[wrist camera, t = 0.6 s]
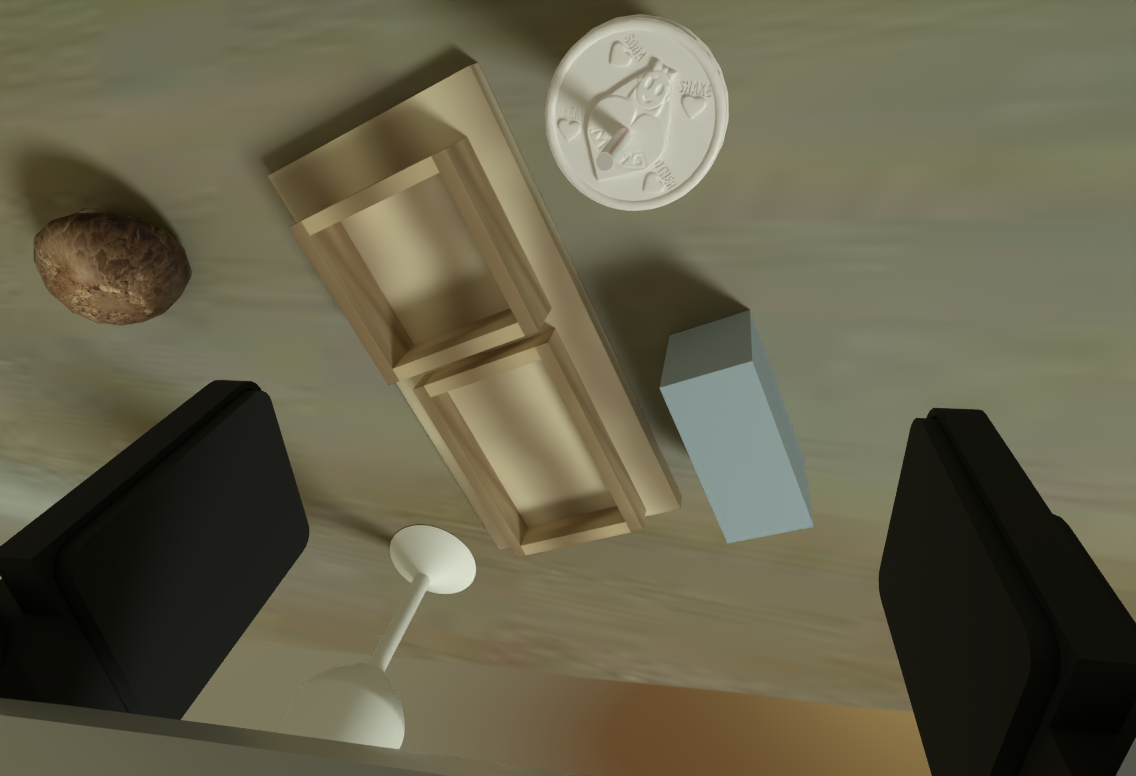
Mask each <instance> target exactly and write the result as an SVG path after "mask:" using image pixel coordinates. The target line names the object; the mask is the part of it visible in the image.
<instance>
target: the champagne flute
mask: <svg viewBox="0 0 1136 776" xmlns="http://www.w3.org/2000/svg"><path fill="white" fill-rule="evenodd" d="M390 556H391V560H392V562H393V564H394V566H395V567H396V569H397V570H398V571H399V573H400V574H401V575H402V576H403V577H404V578H405V579H407V580H408V581H409V582H411V584H410V586H409V588H408V590H407V592H406V593H405V595H404V597H403V599H402V601H401V603H400V604H399V606H398V608H397V610H396V612H395V614H394V615H393V617H392V619H391V621H390V623H389V625H388V626H387V628H386V630H385V632H384V634H383V636H382V637H381V639H380V641H379V643H378V645H377V647H376V649H375V650H374V652H373V654H372V656H371V658H370V660H369V661H368V663H358V664H353V665H347V666H340V667H335V668H332V669H330V670H327V671H325V672H322V673H320V674H318V675H316V676H314V677H313V678H312V679H310V680H308V681H307V682H305V683H304V684H303V685H302V686H301V687H300V688H299V689H298V691H297V692H296V694H295V695H294V697H293V699H292V701H291V703H290V705H289V708H288V709H287V711H286V714H285V715H284V717H283V719H282V721H281V723H280V725H279V727H278V729H277V731H276V733H283V734H290V735H298V736H305V737H312V738H320V739H327V740H335V741H342V742H349V743H357V744H364V745H372V746H379V747H386V748H394V749H399V748H400V746H401V744H402V741H403V738H404V732H405V728H404V727H405V725H404V714H403V710H402V705H401V702H400V698H399V697H398V695H397V693H396V691H395V689H394V687H393V685H392V683H391V681H390V679H389V677H388V675H387V674H386V673H385V672H384V671H385V670H386V668H387V666H388V664H389V662H390V660H391V658H392V656H393V654H394V652H395V650H396V648H397V646H398V644H399V642H400V640H401V638H402V636H403V635H404V633H405V631H406V629H407V627H408V625H409V623H410V621H411V619H412V617H413V615H414V613H415V611H416V609H417V607H418V605H419V603H420V601H421V599H422V597H423V596H424V594H425V592H426V591H430V592H433V593H440V594H452V593H456V592H460V591H462V590H464V589H466V588H467V587H468V586H469V585H470V584H471V583H472V582H473V580H474V577H475V575H476V565H475V561H474V558H473V556H472V554H471V552H470V551H469V549H468V548H467V547H466V546H465V545H464V544H463V543H462V542H461V541H460V540H459V539H458V538H456V537H455V536H453V535H452V534H450V533H448V532H447V531H444V530H442V529H439V528H436V527H432V526H425V525H415V526H410V527H406V528H404V529H402V530H400V531H399V532H397V533H396V534H395V535H394V537H393V539H392V540H391V544H390Z"/></svg>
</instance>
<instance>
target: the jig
mask: <svg viewBox="0 0 1136 776" xmlns="http://www.w3.org/2000/svg"><path fill="white" fill-rule="evenodd" d="M268 178H269V179H270V181H271V183H272V184H273V186H274V187H275V189H276V191H277V192H278V194H279V195H280V197H281V199H282V200H283V202H284V203H285V205H286V207H287V208H288V210H289V211H290V213H291V215H292V216H293V218H294V220H295V221H296V224H294V225H292V226H290V227H289V228H290V229H291V231H292V232H293V234H294V236H295V237H296V239H297V240H298V242H299V244H300V245H301V247H302V248H303V250H304V252H305V253H306V255H307V256H308V258H309V259H310V261H311V263H312V264H313V266H314V267H315V269H316V271H317V272H318V274H319V275H320V277H321V279H322V280H323V282H324V283H325V285H326V287H327V288H328V290H329V291H330V293H331V295H332V296H333V298H334V299H335V301H336V302H337V304H338V306H339V307H340V309H341V310H342V312H343V314H344V315H345V317H346V318H347V320H348V322H349V323H350V325H351V326H352V328H353V330H354V331H355V333H356V334H357V336H358V338H359V339H360V341H361V342H362V344H363V346H364V347H365V349H366V350H367V352H368V353H369V355H370V357H371V358H372V360H373V361H374V363H375V365H376V366H377V368H378V369H379V371H380V373H381V374H382V376H383V377H384V379H385V381H386V382H387V384H388V385H390V384H393V383H396V384H397V385H398V387H399V388H400V390H401V392H402V393H403V395H404V396H405V398H406V400H407V401H408V403H409V405H410V406H411V408H412V409H413V411H414V413H415V414H416V416H417V417H418V419H419V421H420V422H421V424H422V425H423V427H424V429H425V430H426V432H427V433H428V435H429V437H430V438H431V440H432V442H433V443H434V445H435V446H436V448H437V450H438V451H439V453H440V454H441V456H442V458H443V459H444V461H445V462H446V464H447V466H448V467H449V469H450V470H451V472H452V474H453V475H454V477H455V479H456V480H457V482H458V483H459V485H460V487H461V488H462V490H463V491H464V493H465V495H466V496H467V498H468V499H469V501H470V503H471V504H472V506H473V507H474V509H475V511H476V512H477V514H478V516H479V517H480V519H481V520H482V522H483V524H484V525H485V527H486V528H487V530H488V532H489V533H490V535H491V536H492V538H493V540H494V541H495V543H496V544H497V546H498V548H499V549H505V548H510V550H511V551H512V553H513V554H514V556H515V558H516V557H520V556H525V555H529V554H534V553H538V552H543V551H547V550H552V549H556V548H561V547H566V546H570V545H575V544H579V543H584V542H588V541H593V540H597V539H602V538H606V537H611V536H615V535H620V534H624V533H629V532H633V531H638V530H642V529H643V527H644V521H645V516H649V515H654V514H658V513H663V512H667V511H671V510H676V509H680V507H681V498H682V496H681V494H680V492H679V489H678V487H677V485H676V483H675V481H674V479H673V477H672V475H671V472H670V470H669V468H668V466H667V464H666V462H665V460H664V458H663V455H662V453H661V451H660V449H659V447H658V445H657V443H656V441H655V438H654V436H653V434H652V432H651V430H650V428H649V426H648V423H647V421H646V419H645V417H644V415H643V413H642V411H641V409H640V406H639V404H638V402H637V400H636V398H635V396H634V394H633V392H632V389H631V387H630V385H629V383H628V381H627V379H626V377H625V375H624V372H623V370H622V368H621V366H620V364H619V362H618V360H617V358H616V355H615V353H614V351H613V349H612V347H611V345H610V343H609V341H608V338H607V336H606V334H605V332H604V330H603V328H602V326H601V324H600V321H599V319H598V317H597V315H596V313H595V311H594V309H593V306H592V304H591V302H590V300H589V298H588V296H587V294H586V292H585V289H584V287H583V285H582V283H581V281H580V279H579V277H578V275H577V272H576V270H575V268H574V266H573V264H572V262H571V260H570V258H569V255H568V253H567V251H566V249H565V247H564V245H563V243H562V241H561V238H560V236H559V234H558V232H557V230H556V228H555V226H554V224H553V221H552V219H551V217H550V215H549V213H548V211H547V209H546V207H545V204H544V202H543V200H542V198H541V196H540V194H539V192H538V189H537V187H536V185H535V183H534V181H533V179H532V177H531V175H530V172H529V170H528V168H527V166H526V164H525V162H524V160H523V158H522V155H521V153H520V151H519V149H518V147H517V145H516V143H515V141H514V138H513V136H512V134H511V132H510V130H509V128H508V126H507V124H506V121H505V119H504V117H503V115H502V113H501V111H500V109H499V107H498V104H497V102H496V100H495V98H494V96H493V94H492V92H491V90H490V87H489V85H488V83H487V81H486V79H485V77H484V75H483V72H482V70H481V68H480V66H479V64H478V63H476V64H472V65H469V66H468V67H466V68H464V69H462V70H460V71H458V72H457V73H455V74H453V75H451V76H449V77H448V78H446V79H444V80H442V81H440V82H438V83H437V84H435V85H433V86H431V87H429V88H427V89H426V90H424V91H422V92H420V93H418V94H417V95H415V96H413V97H411V98H409V99H407V100H406V101H404V102H402V103H400V104H398V105H396V106H395V107H393V108H391V109H389V110H387V111H386V112H384V113H382V114H380V115H378V116H376V117H375V118H373V119H371V120H369V121H367V122H365V123H364V124H362V125H360V126H358V127H356V128H355V129H353V130H351V131H349V132H347V133H345V134H344V135H342V136H340V137H338V138H336V139H334V140H333V141H331V142H329V143H327V144H325V145H323V146H322V147H320V148H318V149H316V150H314V151H313V152H311V153H309V154H307V155H305V156H303V157H302V158H300V159H298V160H296V161H294V162H292V163H291V164H289V165H287V166H285V167H283V168H282V169H280V170H278V171H276V172H274V173H272V174H271V175H269V176H268Z"/></svg>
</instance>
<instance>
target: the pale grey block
mask: <svg viewBox="0 0 1136 776" xmlns="http://www.w3.org/2000/svg"><path fill="white" fill-rule="evenodd" d="M660 390H661V393H662V395H663V397H664V399H665V402H666V404H667V406H668V409H669V411H670V413H671V415H672V418H673V420H674V422H675V425H676V427H677V429H678V431H679V434H680V436H681V438H682V441H683V443H684V445H685V447H686V450H687V452H688V454H689V456H690V459H691V461H692V463H693V466H694V468H695V470H696V472H697V475H698V477H699V479H700V482H701V484H702V486H703V488H704V491H705V493H706V495H707V498H708V500H709V502H710V504H711V507H712V509H713V511H714V513H715V516H716V518H717V520H718V523H719V525H720V527H721V529H722V532H723V534H724V536H725V539H726V541H727V543H732V542H737V541H743V540H748V539H753V538H758V537H763V536H768V535H773V534H779V533H784V532H789V531H794V530H799V529H804V528H810V527H814V525H813V518H812V511H811V504H810V497H809V490H808V483H807V476H806V469H805V462H804V458H803V455H802V452H801V450H800V447H799V444H798V441H797V439H796V436H795V433H794V430H793V428H792V425H791V422H790V419H789V416H788V414H787V411H786V408H785V405H784V403H783V400H782V397H781V394H780V391H779V389H778V386H777V383H776V380H775V378H774V375H773V372H772V369H771V366H770V364H769V361H768V358H767V355H766V353H765V350H764V347H763V344H762V341H761V339H760V336H759V333H758V330H757V328H756V325H755V322H754V319H753V316H752V314H751V311H750V310H748V311H745V312H741V313H738V314H735V315H732V316H729V317H726V318H723V319H719V320H716V321H713V322H710V323H707V324H704V325H701V326H698V327H694V328H691V329H688V330H685V331H682V332H679V333H676V334H672V335H669V340H668V346H667V351H666V356H665V361H664V367H663V372H662V377H661V382H660Z"/></svg>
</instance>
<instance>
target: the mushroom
mask: <svg viewBox="0 0 1136 776" xmlns="http://www.w3.org/2000/svg"><path fill="white" fill-rule="evenodd" d="M79 212H80V213H75V214H72V215H69V216H65V217H62V218H59V219H56V220H52V221H51V222H50V223H49V224H48V225H46V226H45V227H44V228H43V229H42V230H41V231H40V232H39V233H37V235H36V236H35V238H34V262H35V264H36V267H37V269H38V271H39V273H40V275H41V277H42V280H43V282H44V284H45V286H46V288H47V289H48V291H49V292H50V293H51V294H52V295H53V296H54V297H55V298H56V299H58V300H59V301H60V302H61V303H62V304H63V305H65V306H66V307H67V308H68V309H69V310H70V311H72V312H73V313H75V314H77V315H80V316H82V317H85V318H87V319H89V320H92V321H94V322H97V323H101V324H111V325H127V324H133V323H140V322H144V321H147V320H149V319H151V318H154V317H156V316H158V315H161V314H163V313H165V312H166V311H167V310H168V309H169V308H170V307H171V306H172V305H173V304H174V303H175V302H176V301H177V299H178V298H179V297H180V296H181V294H182V293H183V291H184V289H185V287H186V285H187V283H188V281H189V280H190V278H191V272H192V271H191V268H190V265H189V262H188V259H187V256H186V253H185V250H184V248H183V247H182V246H181V245H180V244H179V243H178V242H177V241H176V240H175V239H174V238H173V237H172V236H171V235H170V234H169V233H168V232H167V231H166V230H165V229H163V228H161V227H158V226H156V225H154V224H151V223H149V222H146V221H144V220H142V219H139V218H136V217H131V216H126V215H120V214H115V213H110V212H106V211H102V210H99V209H83V210H80V211H79Z"/></svg>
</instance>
